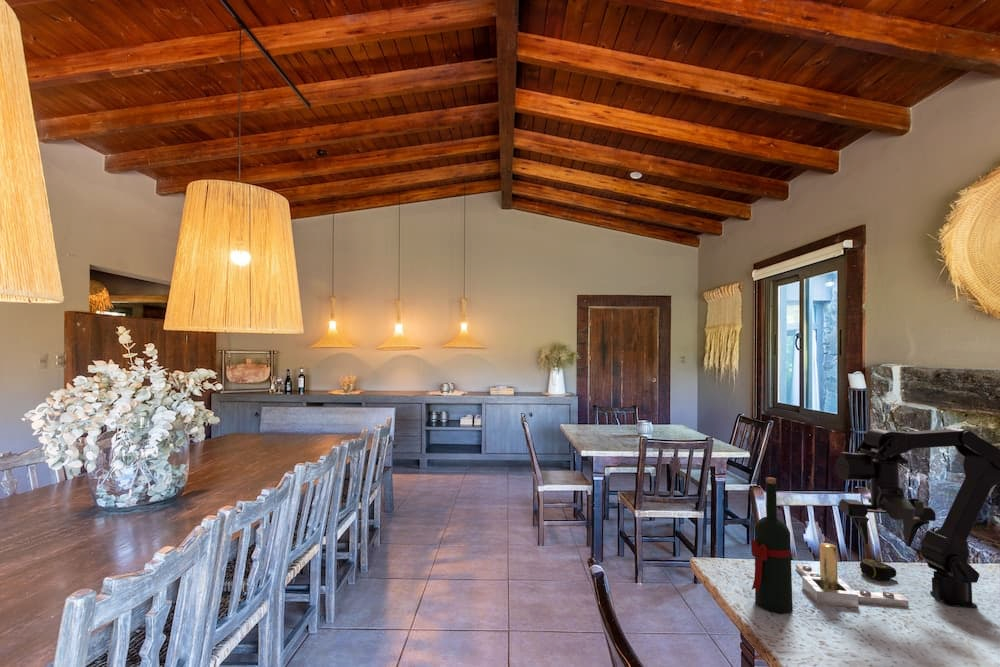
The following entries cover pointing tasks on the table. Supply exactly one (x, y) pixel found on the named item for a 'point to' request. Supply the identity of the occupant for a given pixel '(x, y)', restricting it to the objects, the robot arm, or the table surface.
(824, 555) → the gold metal cylinder
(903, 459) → the robot arm
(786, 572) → the wine bottle
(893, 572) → the tape measure
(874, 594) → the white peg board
